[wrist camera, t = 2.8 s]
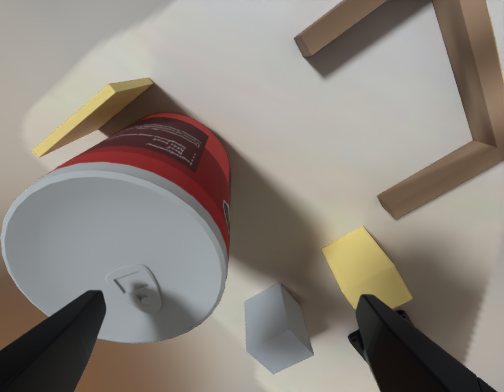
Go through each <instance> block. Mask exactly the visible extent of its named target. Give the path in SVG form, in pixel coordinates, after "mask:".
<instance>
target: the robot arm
mask: <svg viewBox="0 0 504 392" xmlns="http://www.w3.org/2000/svg"><path fill="white" fill-rule="evenodd" d="M105 315H106V303H105V299H104V295H103V292H102V291H101V290H88V291H86V292H84V293H83V294H82V295H80V296H79V297H77V298H76V299H74V300H73V301H71V302H70V303H68V304H67V305H66V306H64V307H63V308H61V309H60V310H58V311H57V312H55V313H54V314H52V315H51V316H50V317H48V318H47V319H45V320H44V321H42V322H41V323H40V324H38V325H36V326H35V327H34V328H32V329H31V330H29V331H28V332H27V333H25V334H23V335H22V336H21V337H19V338H18V339H16V340H15V341H13V342H12V343H10V344H9V345H8V346H6V347H5V348H3V349H2V350H0V392H74V390H75V388H76V386H77V384H78V382H79V380H80V378H81V376H82V374H83V371H84V369H85V367H86V365H87V363H88V361H89V358H90V356H91V353H92V350H93V348H94V345H95V342H96V339H97V337H98V334H99V331H100V329H101V326H102V323H103V320H104V318H105ZM356 319H357V322H358V326H359V329H360V330H359V331H357V332H354V333H352V334H350V335H349V336H348V339H349V341H350V343H351V344H352V345H353V347H354V348H355V349H356V350H357V351H358V353H359V354H360V355H361V356H362V357H363V359H364V360H365V361H366V362H367V363H368V365H369V367H370V370H371V372H372V374H373V376H374V378H375V381H376V383H377V385H378V387H379V390H380V392H497V391H496V390H494V389H493V388H492V387H491V386H489V385H488V384H487V383H486V382H484V381H483V380H482V379H480V378H479V377H477V376H476V375H475V374H474V373H473V372H471V371H470V370H469V369H468V368H466V367H465V366H464V365H463V364H461V363H460V362H459V361H457V360H456V359H455V358H454V357H452V356H451V355H450V354H449V353H447V352H446V351H445V350H443V349H442V348H441V347H440V346H438V345H437V344H436V343H435V342H433V341H432V340H431V339H429V338H428V337H427V336H426V335H424V334H423V333H422V332H421V331H419V330H418V329H417V328H415V327H414V325H413V324H412V322H411V320H410V319H409V317H408V315H407V314H406V313H405V311H399V312H397V313H396V312H395V311H394V310H393V309H391V308H390V307H389V306H387V305H386V304H385V303H384V302H382V301H381V300H380V299H379V298H377V297H376V296H375V295H373V294H362V295H361V296H360V298H359V301H358V305H357V308H356Z"/></svg>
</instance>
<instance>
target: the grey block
mask: <svg viewBox="0 0 504 392" xmlns="http://www.w3.org/2000/svg"><path fill="white" fill-rule="evenodd" d="M244 304H245V326H246V349H247V352H248V353H249V354H251V355H252V356H253V357H254V358H255V359H256V360H258V361H259V362H260V363H261V364H262V365H263V366H265V367H266V368H267V369H268V370H269V371H270V372H271V373H273V374H275V373H277V372H279V371H281V370H283V369H285V368H288V367H290V366H292V365H294V364H296V363H298V362H300V361H303V360H305V359H307V358H309V357H311V356H313V355H314V353H313V349H312V346H311V342H310V338H309V335H308V331H307V328H306V324H305V320H304V317H303V313H302V309H301V306H300V305H299V304H298V303H297V302H296V300H295V299H294V298H293V297H292V296H291V295H290V294H289V293H288V291H287V290H286V289H285V288H284V287H283V286H282V285H281V283H280V282H279V283H277V284H275V285H274V286H272V287H270V288H268V289H266V290H265V291H263V292H261V293H259V294H257V295H255V296H254V297H252V298H250V299H248V300H246V301H245V302H244Z"/></svg>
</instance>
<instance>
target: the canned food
mask: <svg viewBox="0 0 504 392" xmlns="http://www.w3.org/2000/svg"><path fill="white" fill-rule="evenodd" d="M230 186H231V172H230V163H229V160H228V157H227V154H226V151H225V149H224V148H223V146H222V144H221V142H220V141H219V140H218V139H217V137H216V136H215V135H214V134H213V133H212V132H211V131H210V130H209V129H208V128H207V127H205V126H204V125H203V124H201V123H199V122H197V121H196V120H194V119H192V118H189V117H186V116H183V115H180V114H173V113H158V114H154V115H150V116H147V117H144V118H143V119H141V120H139V121H137V122H135V123H134V124H132V125H130V126H128V127H127V128H125V129H123V130H121V131H120V132H118V133H116V134H114V135H113V136H111V137H109V138H107V139H106V140H104V141H102V142H100V143H99V144H97V145H95V146H93V147H92V148H90V149H88V150H86V151H85V152H83V153H81V154H79V155H78V156H76V157H74V158H72V159H71V160H69V161H67V162H65V163H64V164H62V165H60V166H58V167H57V168H56V169H54V170H53V171H51V172H50V173H48V174H46V175H45V176H43V177H41V178H39V179H38V180H37V181H36V182H35V183H34V184H33V185H32V186H30V187H29V188H27V189H26V190H25V191H24V192H23V193H22V194H21V195H20V196H19V197H18V198H17V199H16V200H15V201H14V202H13V203H12V205H11V207H10V209H9V210H8V212H7V214H6V216H5V218H4V221H3V226H2V231H1V247H2V255H3V258H4V261H5V264H6V267H7V269H8V272H9V273H10V275H11V277H12V278H13V280H14V282H15V283H16V285H17V287H18V288H19V289H20V290H21V291H22V293H23V294H24V295H25V296H26V297H27V298H28V299H29V300H30V301H31V302H32V303H33V304H34V305H35V306H36V307H38V308H39V309H40V310H41V311H42V312H44V313H45V314H46V315H47V316H49V317H50V316H51V315H52V314H54V313H55V312H57V311H58V310H60V309H61V308H63V307H64V306H66V305H67V304H68V303H70V302H71V301H73V300H74V299H76V298H77V297H79V296H80V295H82V294H83V293H84V292H86V291H88V290H101V291H102V292H103V295H104V299H105V303H106V315H105V318H104V320H103V323H102V326H101V329H100V331H99V334H98V337H97V338H99V339H103V340H109V341H114V342H122V343H148V342H158V341H162V340H166V339H171V338H174V337H177V336H179V335H182V334H184V333H187V332H189V331H190V330H192V329H193V328H195V327H197V326H198V325H200V324H201V323H202V322H203V321H204V320H205V319H207V318H208V317H209V316H210V315H211V314H212V312H213V311H214V309H215V308H216V307H217V305H218V304H219V302H220V300H221V297H222V294H223V292H224V289H225V282H226V279H227V271H228V260H229V242H230Z"/></svg>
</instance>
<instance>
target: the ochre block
mask: <svg viewBox="0 0 504 392" xmlns="http://www.w3.org/2000/svg"><path fill="white" fill-rule="evenodd" d="M322 251H323V253H324V255H325V257H326V260H327V262H328V264H329V266H330V268H331V270H332V272H333V274H334V276H335V278H336V281H337V283H338V285H339V287H340V289H341V291H342V293H343V294H344V295H345V297H346V298H347V300H348V301H349V302H350V304H351V305H352V306H353V308H354V309H355V310H356V308H357V305H358V301H359V298H360V296H361V295H362V294H373V295H375V296H376V297H377V298H379V299H380V300H381V301H382V302H384V303H385V304H386V305H387V306H389V307H390V308H391V309H393V308H395V307H398V306H400V305H402V304H404V303H406V302H408V301H410V300H412V299H413V297H412V296H411V294H410V292H409V290H408V289H407V287H406V285H405V283H404V281H403V280H402V278H401V276H400V274H399V273H398V271H397V269H396V267H395V266H394V264H393V263H392V262H391V261H390V259H389V258H388V257H387V256H386V254H385V253H384V252H383V251H382V249H381V248H380V247H379V246H378V244H377V243H376V242H375V241H374V239H373V238H372V237H371V236H370V234H369V233H368V232H367V231H366V229H365V228H364V227H363V226H362V227H360V228H358V229H356V230H355V231H353V232H351V233H349V234H347V235H346V236H344V237H342V238H340V239H339V240H337V241H335V242H333V243H331V244H330V245H328V246H326V247H324V248H322Z"/></svg>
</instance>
